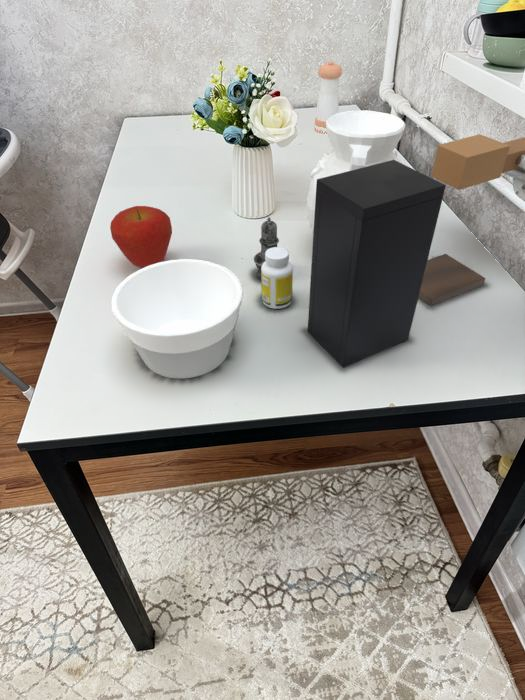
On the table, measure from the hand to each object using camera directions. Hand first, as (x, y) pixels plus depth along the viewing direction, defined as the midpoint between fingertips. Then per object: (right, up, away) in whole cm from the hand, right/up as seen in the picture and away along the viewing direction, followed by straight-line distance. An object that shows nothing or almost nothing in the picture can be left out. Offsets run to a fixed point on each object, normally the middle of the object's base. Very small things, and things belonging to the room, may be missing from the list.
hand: (507, 154), depth 80 cm
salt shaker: (-20, +37, +75) cm, 86 cm away
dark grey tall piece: (-39, -18, +14) cm, 45 cm away
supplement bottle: (-38, -23, +8) cm, 45 cm away
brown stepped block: (-3, -3, 0) cm, 4 cm away
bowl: (-52, -32, -1) cm, 61 cm away
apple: (-63, -15, +17) cm, 67 cm away
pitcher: (-22, -11, +21) cm, 33 cm away
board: (-7, -19, +12) cm, 24 cm away
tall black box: (-25, -30, 0) cm, 39 cm away
